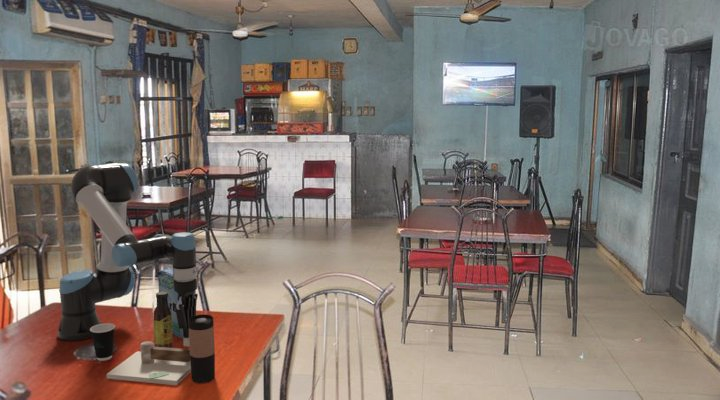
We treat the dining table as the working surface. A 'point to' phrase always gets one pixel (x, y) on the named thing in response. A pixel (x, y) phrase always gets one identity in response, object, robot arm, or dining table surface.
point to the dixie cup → (103, 340)
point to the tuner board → (150, 371)
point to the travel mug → (202, 348)
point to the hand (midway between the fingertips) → (188, 345)
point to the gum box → (170, 297)
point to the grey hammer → (163, 353)
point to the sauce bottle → (162, 322)
